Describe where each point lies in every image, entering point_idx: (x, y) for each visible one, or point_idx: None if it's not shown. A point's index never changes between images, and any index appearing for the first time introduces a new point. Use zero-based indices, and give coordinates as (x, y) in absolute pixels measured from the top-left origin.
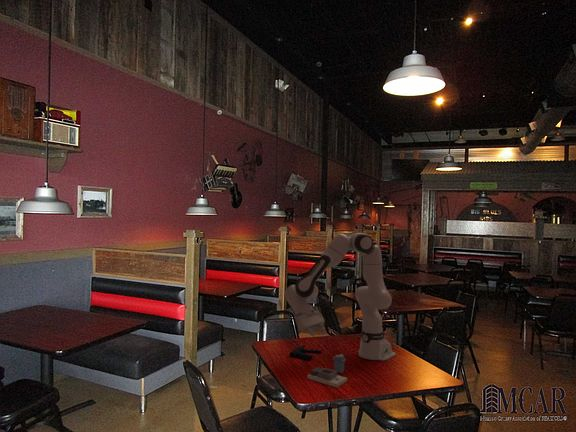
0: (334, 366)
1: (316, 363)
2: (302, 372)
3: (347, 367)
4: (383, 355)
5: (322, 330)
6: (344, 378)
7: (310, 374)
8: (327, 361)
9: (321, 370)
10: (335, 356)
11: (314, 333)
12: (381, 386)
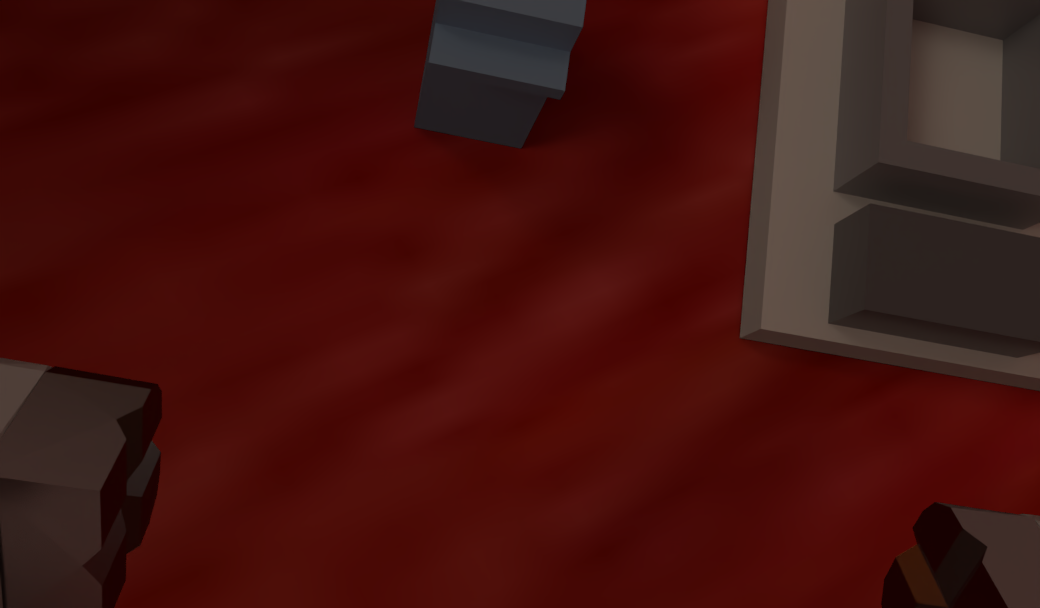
0: (539, 109)
1: (308, 588)
2: (877, 585)
3: (206, 5)
4: None
5: (118, 455)
6: None
7: (1017, 361)
8: None
9: (1012, 164)
10: (573, 6)
11: (1003, 524)
12: None
